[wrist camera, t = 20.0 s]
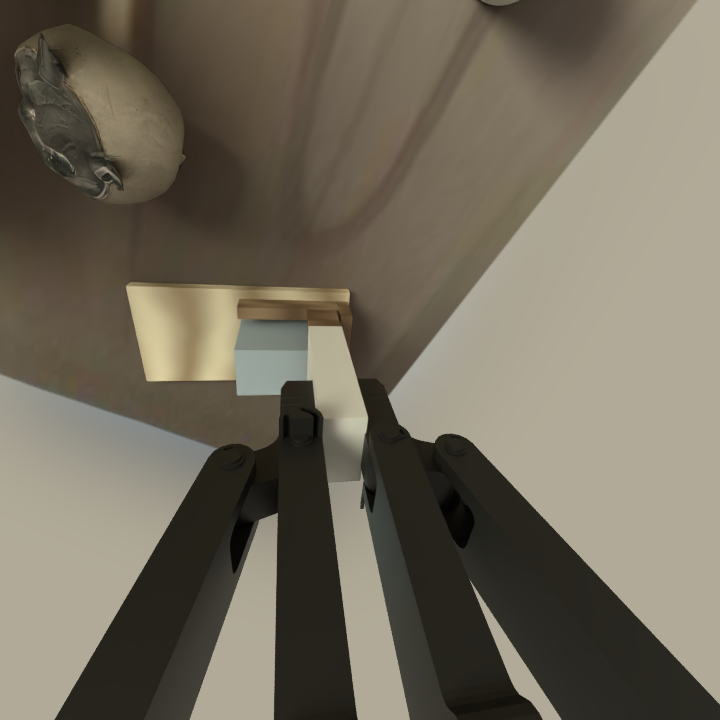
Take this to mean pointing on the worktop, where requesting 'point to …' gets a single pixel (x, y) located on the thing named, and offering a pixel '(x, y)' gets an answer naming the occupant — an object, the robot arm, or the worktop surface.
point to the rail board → (218, 323)
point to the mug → (499, 2)
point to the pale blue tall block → (270, 355)
